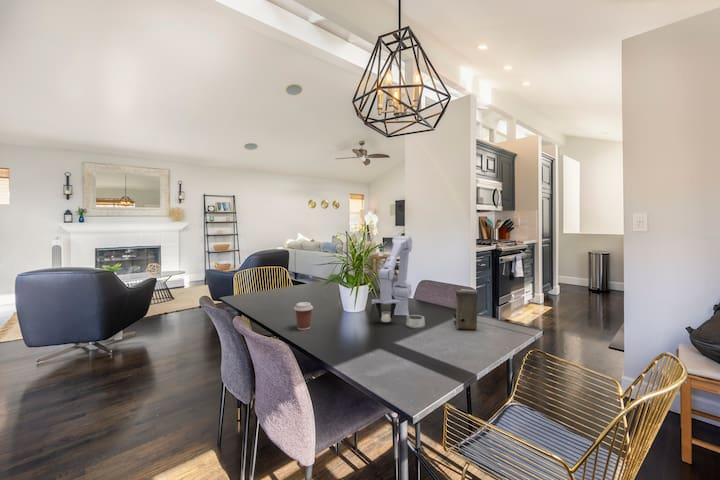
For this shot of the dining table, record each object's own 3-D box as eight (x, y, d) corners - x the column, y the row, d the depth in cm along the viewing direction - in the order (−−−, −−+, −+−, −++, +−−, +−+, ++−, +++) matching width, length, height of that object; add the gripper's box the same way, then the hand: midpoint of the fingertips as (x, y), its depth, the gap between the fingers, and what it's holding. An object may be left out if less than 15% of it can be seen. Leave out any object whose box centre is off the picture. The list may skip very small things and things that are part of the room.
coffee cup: (308, 323, 169) (308, 300, 169) (316, 328, 162) (315, 304, 161) (291, 326, 165) (291, 303, 164) (298, 332, 157) (298, 307, 156)
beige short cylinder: (381, 318, 173) (381, 310, 173) (391, 319, 172) (391, 311, 172) (380, 321, 168) (380, 313, 168) (390, 322, 167) (390, 314, 167)
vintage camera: (470, 321, 173) (469, 284, 173) (477, 330, 158) (477, 289, 157) (451, 321, 174) (451, 284, 174) (457, 330, 159) (456, 289, 158)
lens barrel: (405, 322, 172) (405, 314, 172) (424, 322, 170) (424, 314, 170) (405, 328, 162) (405, 320, 162) (426, 329, 161) (426, 320, 160)
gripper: (371, 293, 166) (371, 319, 167) (400, 293, 164) (400, 320, 165) (372, 290, 173) (372, 315, 174) (400, 290, 171) (400, 316, 172)
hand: (385, 317), depth 170 cm, fingers closed on beige short cylinder, 5 cm apart
